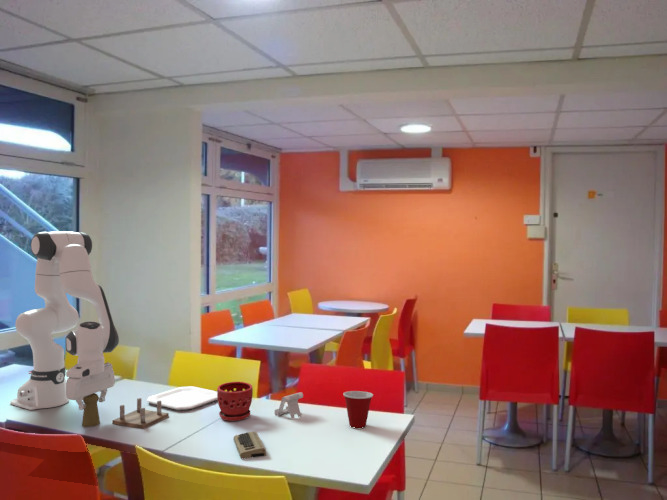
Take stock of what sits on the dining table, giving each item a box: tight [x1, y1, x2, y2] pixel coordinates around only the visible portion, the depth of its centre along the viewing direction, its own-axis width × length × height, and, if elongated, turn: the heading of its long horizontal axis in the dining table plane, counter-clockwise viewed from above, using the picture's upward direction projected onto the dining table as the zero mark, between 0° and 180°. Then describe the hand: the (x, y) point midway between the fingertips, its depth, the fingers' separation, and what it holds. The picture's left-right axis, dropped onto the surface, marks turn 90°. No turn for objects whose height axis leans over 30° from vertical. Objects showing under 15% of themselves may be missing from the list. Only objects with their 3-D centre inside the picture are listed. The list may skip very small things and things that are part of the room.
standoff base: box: [112, 397, 170, 429], centre depth 208 cm, size 14×14×6 cm
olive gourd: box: [81, 392, 101, 428], centre depth 203 cm, size 6×6×11 cm
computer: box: [233, 431, 267, 460], centre depth 181 cm, size 16×8×3 cm, turn 18°
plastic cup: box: [343, 390, 374, 429], centre depth 202 cm, size 11×11×12 cm
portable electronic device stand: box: [274, 391, 304, 419], centre depth 214 cm, size 9×8×8 cm
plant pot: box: [217, 381, 254, 422], centre depth 211 cm, size 13×13×12 cm
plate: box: [146, 385, 218, 411], centre depth 232 cm, size 25×25×2 cm
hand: (92, 405), depth 203 cm, fingers open, 8 cm apart
